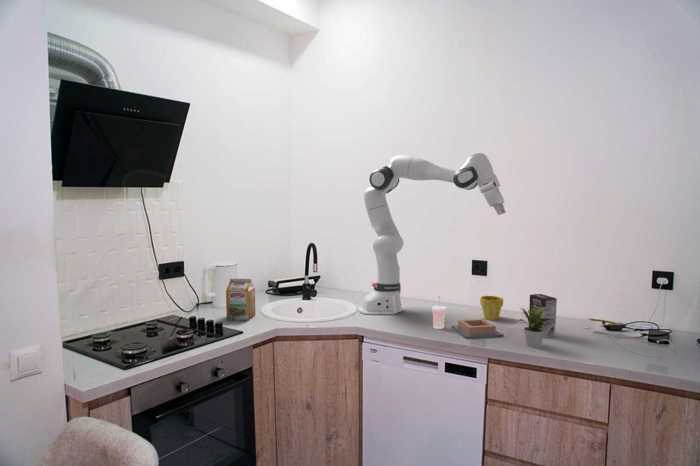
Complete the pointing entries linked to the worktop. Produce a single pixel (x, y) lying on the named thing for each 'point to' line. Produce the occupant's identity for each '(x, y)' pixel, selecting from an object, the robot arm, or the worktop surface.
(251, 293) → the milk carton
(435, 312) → the beverage cup
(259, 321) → the worktop surface
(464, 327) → the cup holder
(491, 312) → the plant pot
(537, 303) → the coffee box
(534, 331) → the house plant
